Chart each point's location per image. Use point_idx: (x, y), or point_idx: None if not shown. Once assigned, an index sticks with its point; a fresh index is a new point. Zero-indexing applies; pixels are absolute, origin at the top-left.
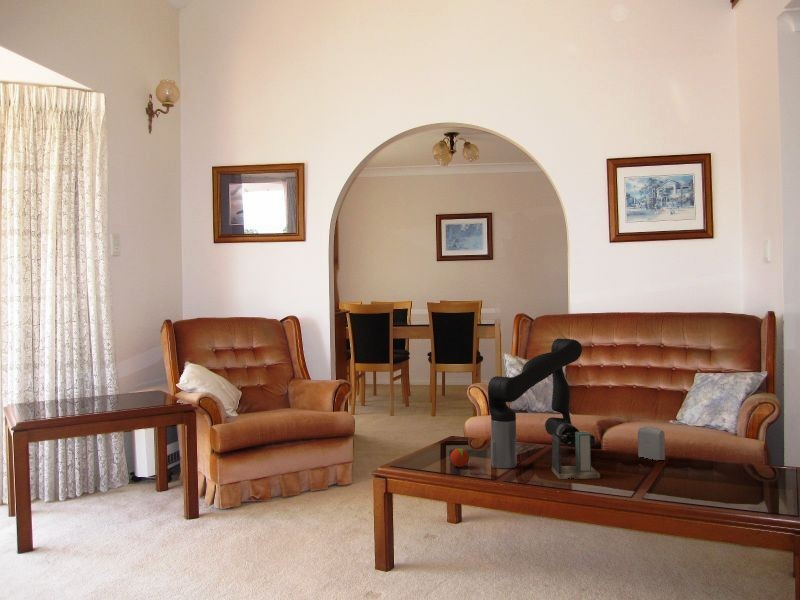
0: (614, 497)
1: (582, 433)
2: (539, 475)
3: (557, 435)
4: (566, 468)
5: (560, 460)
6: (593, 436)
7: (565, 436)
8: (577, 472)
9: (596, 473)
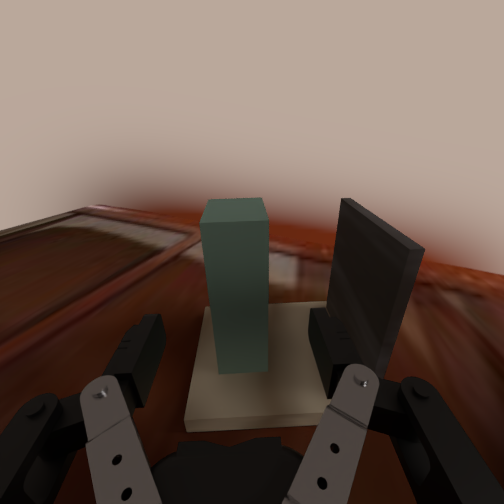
0: None
1: (239, 205)
2: (405, 345)
3: (466, 495)
4: (308, 368)
5: (332, 270)
6: (35, 405)
7: (338, 410)
8: (271, 319)
9: None
